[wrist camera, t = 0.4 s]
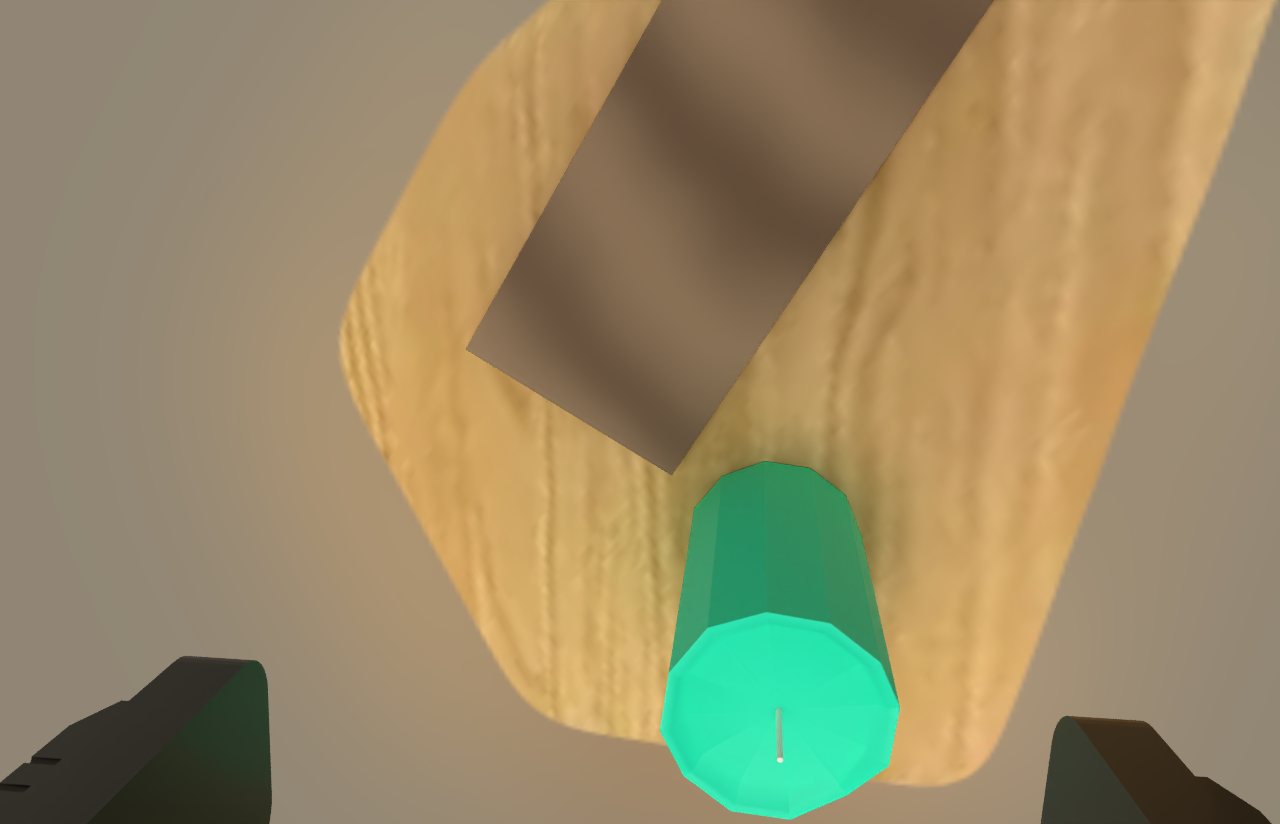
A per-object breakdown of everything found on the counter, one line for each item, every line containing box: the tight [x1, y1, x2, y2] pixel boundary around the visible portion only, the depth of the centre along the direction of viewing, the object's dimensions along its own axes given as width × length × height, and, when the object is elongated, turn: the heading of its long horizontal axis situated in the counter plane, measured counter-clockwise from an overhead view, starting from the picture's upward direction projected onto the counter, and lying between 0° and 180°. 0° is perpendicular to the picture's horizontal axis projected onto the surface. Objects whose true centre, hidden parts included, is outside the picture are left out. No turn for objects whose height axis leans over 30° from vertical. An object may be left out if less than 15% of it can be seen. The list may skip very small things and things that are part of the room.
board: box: [466, 0, 993, 475], centre depth 30 cm, size 20×8×1 cm, turn 148°
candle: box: [660, 461, 900, 819], centre depth 29 cm, size 6×6×12 cm
